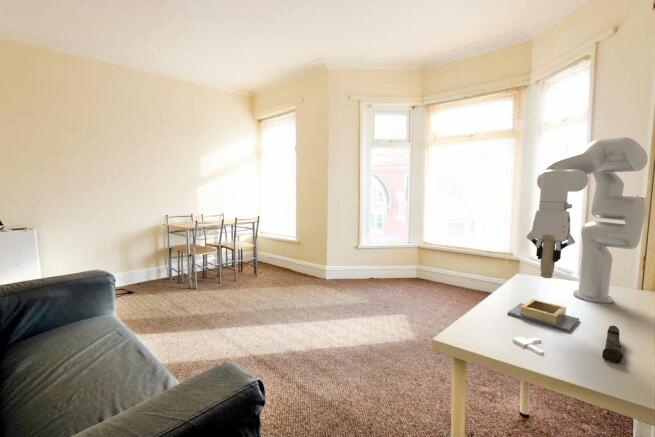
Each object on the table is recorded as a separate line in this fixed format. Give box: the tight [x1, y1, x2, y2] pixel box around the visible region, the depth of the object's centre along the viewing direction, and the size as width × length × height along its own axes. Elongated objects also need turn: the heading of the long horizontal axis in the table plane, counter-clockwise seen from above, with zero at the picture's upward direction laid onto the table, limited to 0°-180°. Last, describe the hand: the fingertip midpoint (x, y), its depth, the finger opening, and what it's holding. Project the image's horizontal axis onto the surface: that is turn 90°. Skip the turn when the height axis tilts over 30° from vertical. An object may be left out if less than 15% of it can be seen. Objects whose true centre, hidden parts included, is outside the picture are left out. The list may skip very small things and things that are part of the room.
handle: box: [539, 235, 556, 279], centre depth 108 cm, size 5×6×15 cm
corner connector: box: [512, 336, 544, 355], centre depth 92 cm, size 8×8×2 cm
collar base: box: [507, 298, 580, 333], centre depth 111 cm, size 13×18×4 cm
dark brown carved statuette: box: [601, 325, 624, 365], centre depth 90 cm, size 19×4×5 cm, turn 135°
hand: (547, 259), depth 109 cm, fingers closed on handle, 3 cm apart
